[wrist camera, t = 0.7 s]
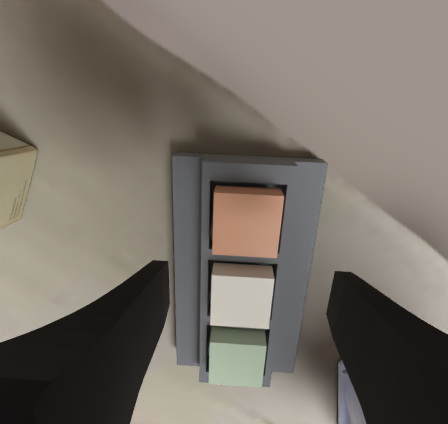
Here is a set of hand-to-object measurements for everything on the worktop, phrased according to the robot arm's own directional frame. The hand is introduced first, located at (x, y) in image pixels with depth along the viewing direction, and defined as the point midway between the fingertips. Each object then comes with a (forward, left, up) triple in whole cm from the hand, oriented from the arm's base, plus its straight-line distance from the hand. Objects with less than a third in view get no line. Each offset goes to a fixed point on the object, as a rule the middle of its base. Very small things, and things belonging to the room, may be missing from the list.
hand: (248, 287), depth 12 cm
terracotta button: (0, 0, -8) cm, 8 cm away
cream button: (-5, +1, -8) cm, 9 cm away
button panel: (-5, +1, -10) cm, 12 cm away
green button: (-11, +2, -8) cm, 13 cm away
